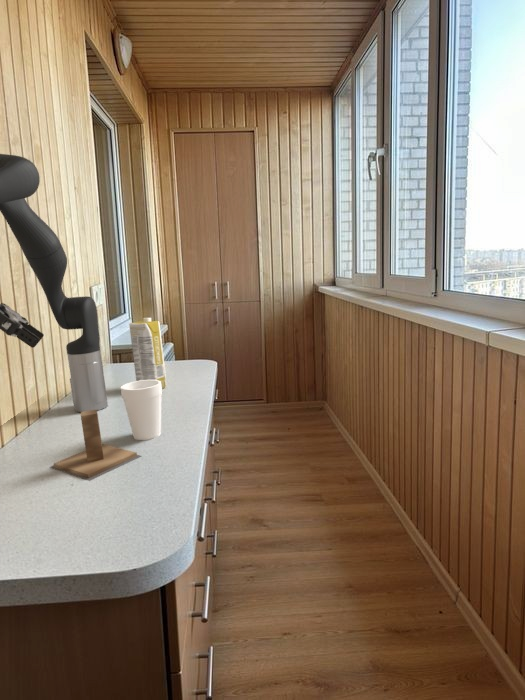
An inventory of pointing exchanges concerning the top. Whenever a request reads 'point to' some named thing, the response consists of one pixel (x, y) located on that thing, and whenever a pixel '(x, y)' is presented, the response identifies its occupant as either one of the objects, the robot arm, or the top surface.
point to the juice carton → (148, 351)
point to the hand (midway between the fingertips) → (39, 341)
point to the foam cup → (143, 407)
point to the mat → (100, 473)
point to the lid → (94, 451)
